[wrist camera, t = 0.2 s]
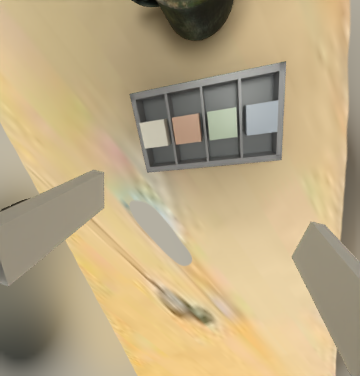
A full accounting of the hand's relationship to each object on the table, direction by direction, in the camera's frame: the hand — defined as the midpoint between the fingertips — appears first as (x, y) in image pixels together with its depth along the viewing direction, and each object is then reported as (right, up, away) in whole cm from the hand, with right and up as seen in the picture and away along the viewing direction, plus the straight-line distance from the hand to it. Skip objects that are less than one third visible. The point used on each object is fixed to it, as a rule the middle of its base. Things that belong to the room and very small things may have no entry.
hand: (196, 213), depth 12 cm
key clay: (0, +12, +21) cm, 24 cm away
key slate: (+12, +13, +18) cm, 25 cm away
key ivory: (-5, +12, +22) cm, 26 cm away
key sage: (+6, +13, +19) cm, 24 cm away
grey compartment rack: (+4, +13, +23) cm, 27 cm away
